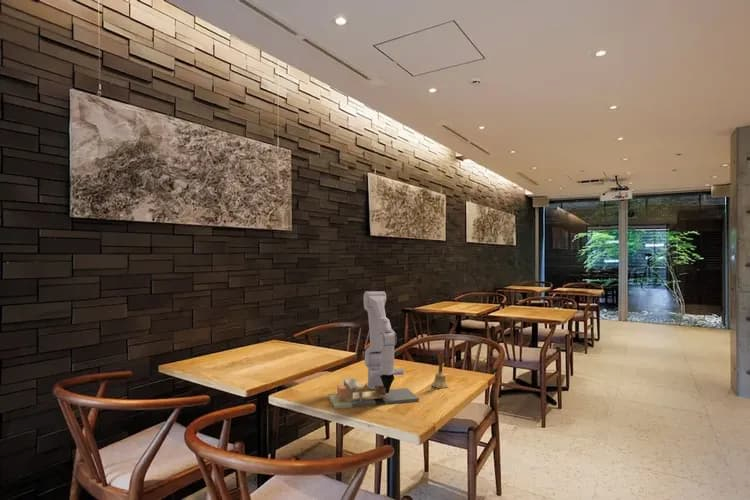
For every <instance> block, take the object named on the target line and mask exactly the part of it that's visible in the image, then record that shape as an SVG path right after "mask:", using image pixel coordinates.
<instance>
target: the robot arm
mask: <svg viewBox="0 0 750 500" xmlns="http://www.w3.org/2000/svg"><path fill="white" fill-rule="evenodd" d="M386 302H387V293H386V292H385V290H384V291H383V290H382V291H368V290H367V291H364V293H363V308H364V311H366V312H367V316H368V329H369V331H368V332H369V344H370V345H369V347H367V348H366V349H365V351H364V364H365V367H366V368H367V382H365V383H364V385H365V386H366V387H367V389H369V390H375V385H383V386H384V387H385V388H386V393H389V390H390V389H391V387H392V383H393V382H394V381H395V376H398V375H402V376H403V375H405V373H404V372H405V371H404V369H401V368H400V369H398V368H397V369H395V346H396V345H397V343H398V342H397V341H398V340H397V339H398V338H397V333H396V332H395V331H394V330H393V328H392V326H391V322H390V319H389V318H387V317H386V315H387V314H386V310H385V305H386Z"/></svg>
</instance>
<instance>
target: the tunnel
mask: <svg viewBox="0 0 750 500" xmlns="http://www.w3.org/2000/svg"><path fill="white" fill-rule="evenodd" d="M343 385H347V386H348V387H349V388H350V403H353V393H355V392H357V391H356V390H359V391H358V392H359V402H360V403H362V392H363V391H364V390H363V386H362V385H361V383H360V382H359V381H358V380H357V379H356V378H347V379H346V378H345V379H343Z"/></svg>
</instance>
